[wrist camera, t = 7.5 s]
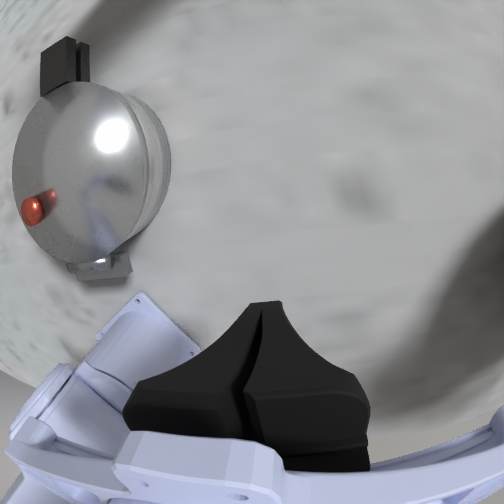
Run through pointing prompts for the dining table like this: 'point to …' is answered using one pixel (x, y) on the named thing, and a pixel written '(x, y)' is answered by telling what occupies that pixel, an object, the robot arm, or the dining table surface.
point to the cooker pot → (157, 168)
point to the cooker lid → (79, 166)
